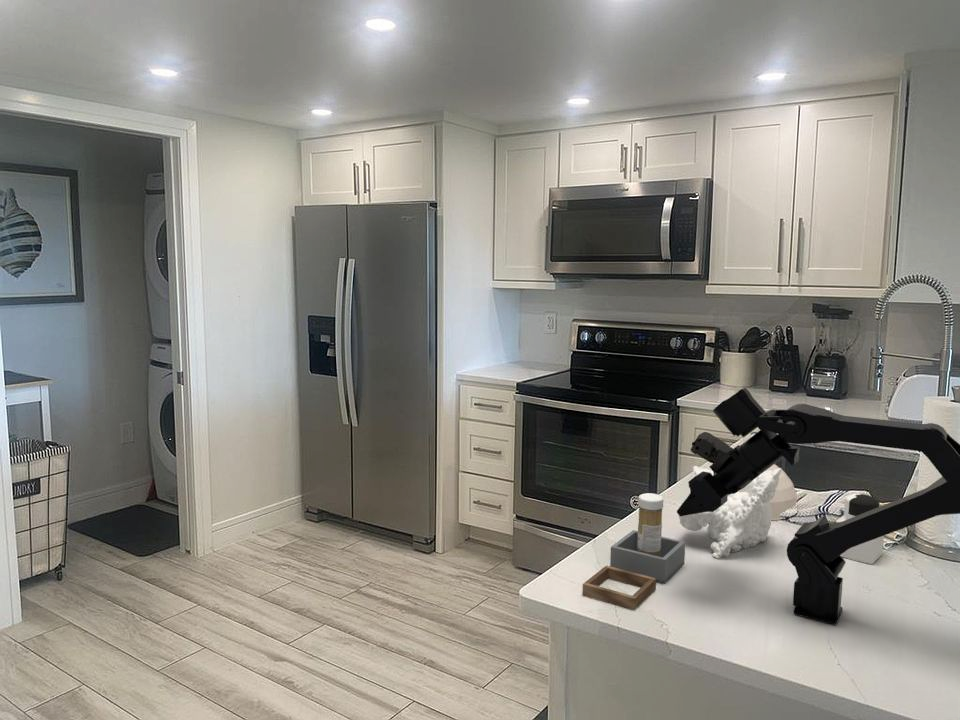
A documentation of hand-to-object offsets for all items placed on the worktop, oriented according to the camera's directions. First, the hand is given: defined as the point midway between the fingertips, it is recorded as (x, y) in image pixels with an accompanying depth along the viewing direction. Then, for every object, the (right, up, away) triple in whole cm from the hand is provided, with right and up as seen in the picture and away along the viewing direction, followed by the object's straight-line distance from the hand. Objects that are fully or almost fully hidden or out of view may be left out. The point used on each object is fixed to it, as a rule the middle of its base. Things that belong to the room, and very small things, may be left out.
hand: (687, 506), depth 131 cm
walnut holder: (-13, -14, -5) cm, 20 cm away
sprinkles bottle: (-6, -12, +6) cm, 15 cm away
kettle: (+27, -9, +41) cm, 50 cm away
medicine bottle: (+37, -12, +13) cm, 41 cm away
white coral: (+13, -11, +18) cm, 25 cm away
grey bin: (-6, -13, +6) cm, 15 cm away
